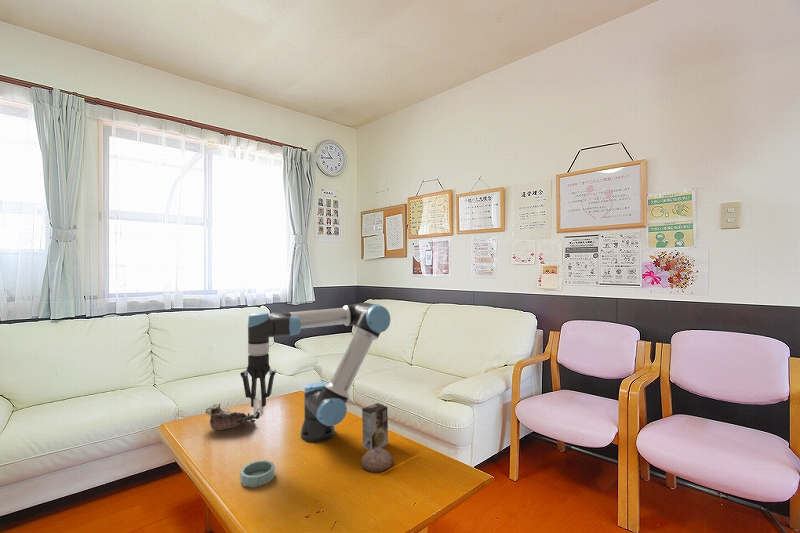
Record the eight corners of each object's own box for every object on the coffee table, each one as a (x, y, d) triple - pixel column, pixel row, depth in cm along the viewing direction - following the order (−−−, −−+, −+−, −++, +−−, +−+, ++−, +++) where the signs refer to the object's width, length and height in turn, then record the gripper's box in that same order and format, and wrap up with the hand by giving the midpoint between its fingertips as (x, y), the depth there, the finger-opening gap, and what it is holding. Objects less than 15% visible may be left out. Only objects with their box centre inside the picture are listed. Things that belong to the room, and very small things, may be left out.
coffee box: (378, 439, 166) (378, 402, 166) (388, 444, 161) (388, 406, 161) (362, 446, 160) (361, 408, 159) (372, 452, 155) (371, 412, 155)
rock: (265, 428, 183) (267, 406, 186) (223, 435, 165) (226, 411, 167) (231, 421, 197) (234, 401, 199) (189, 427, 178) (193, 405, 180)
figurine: (256, 413, 145) (230, 418, 148) (260, 422, 146) (234, 427, 149) (264, 403, 151) (239, 408, 154) (268, 412, 152) (243, 417, 155)
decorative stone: (374, 476, 136) (374, 460, 136) (354, 465, 145) (354, 450, 145) (399, 464, 144) (398, 449, 144) (378, 454, 153) (378, 440, 153)
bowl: (277, 469, 143) (277, 459, 143) (270, 486, 131) (270, 475, 131) (245, 471, 141) (245, 461, 141) (236, 489, 130) (236, 478, 130)
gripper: (280, 351, 151) (280, 410, 151) (242, 351, 150) (242, 412, 150) (275, 355, 143) (275, 418, 143) (235, 356, 142) (235, 419, 142)
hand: (258, 415), depth 147 cm, fingers closed on figurine, 1 cm apart
